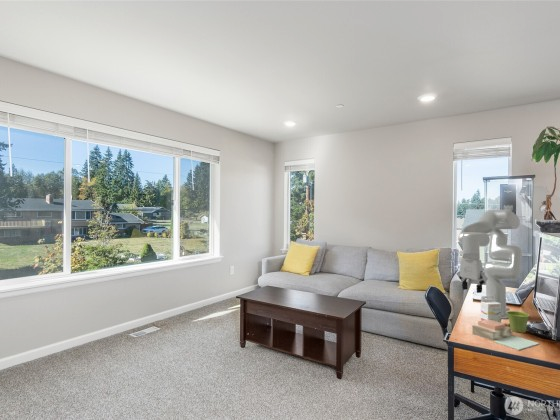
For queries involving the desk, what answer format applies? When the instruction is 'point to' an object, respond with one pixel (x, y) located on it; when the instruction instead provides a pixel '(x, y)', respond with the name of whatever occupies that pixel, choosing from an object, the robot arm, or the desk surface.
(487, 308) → the ink cartridge box
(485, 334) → the block
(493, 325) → the coaster
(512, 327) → the plant pot
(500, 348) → the desk surface
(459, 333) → the desk surface
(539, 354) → the desk surface
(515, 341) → the mat
